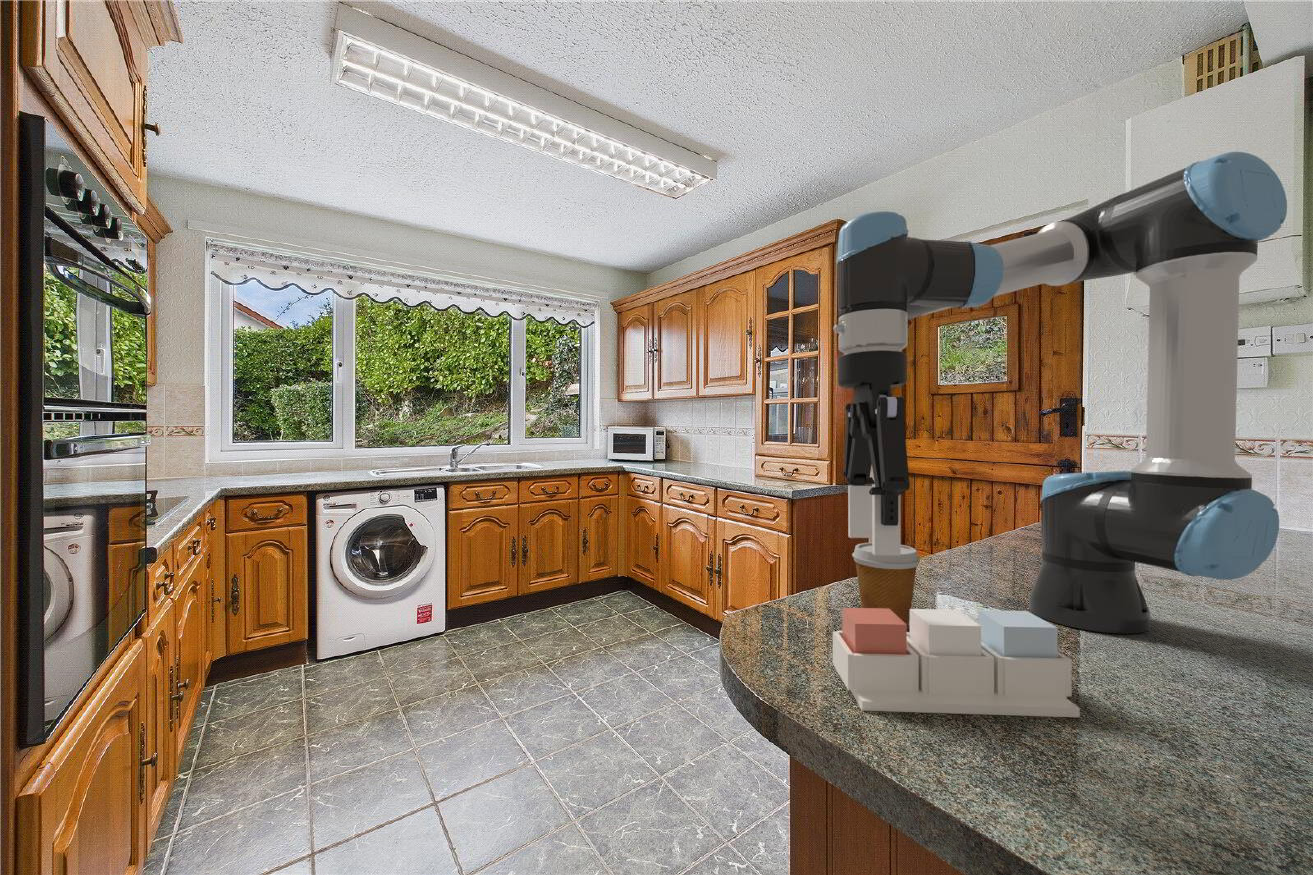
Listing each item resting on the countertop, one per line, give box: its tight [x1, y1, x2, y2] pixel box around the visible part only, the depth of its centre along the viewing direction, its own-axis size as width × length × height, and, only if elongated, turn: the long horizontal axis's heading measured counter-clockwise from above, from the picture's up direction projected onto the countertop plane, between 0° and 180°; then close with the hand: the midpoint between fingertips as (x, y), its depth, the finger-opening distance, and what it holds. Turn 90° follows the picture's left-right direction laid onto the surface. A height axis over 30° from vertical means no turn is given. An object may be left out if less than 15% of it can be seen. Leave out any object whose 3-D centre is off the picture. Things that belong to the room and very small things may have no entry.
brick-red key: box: [841, 607, 908, 655], centre depth 64 cm, size 6×6×4 cm
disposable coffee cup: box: [851, 542, 921, 632], centre depth 84 cm, size 10×10×12 cm
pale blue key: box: [977, 609, 1059, 658], centre depth 63 cm, size 6×6×4 cm
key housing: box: [832, 630, 1081, 718], centre depth 64 cm, size 24×12×5 cm, turn 86°
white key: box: [909, 608, 981, 656], centre depth 64 cm, size 6×6×4 cm
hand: (872, 545), depth 64 cm, fingers open, 9 cm apart
